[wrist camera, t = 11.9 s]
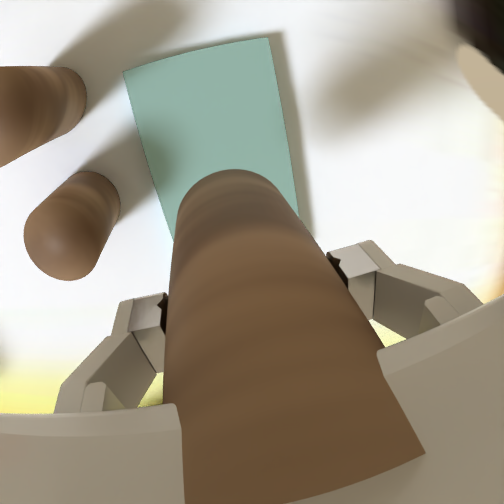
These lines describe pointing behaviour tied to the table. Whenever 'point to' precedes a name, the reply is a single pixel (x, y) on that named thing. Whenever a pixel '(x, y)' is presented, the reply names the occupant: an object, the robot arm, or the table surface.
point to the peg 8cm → (37, 107)
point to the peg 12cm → (270, 355)
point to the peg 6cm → (72, 226)
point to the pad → (210, 119)
